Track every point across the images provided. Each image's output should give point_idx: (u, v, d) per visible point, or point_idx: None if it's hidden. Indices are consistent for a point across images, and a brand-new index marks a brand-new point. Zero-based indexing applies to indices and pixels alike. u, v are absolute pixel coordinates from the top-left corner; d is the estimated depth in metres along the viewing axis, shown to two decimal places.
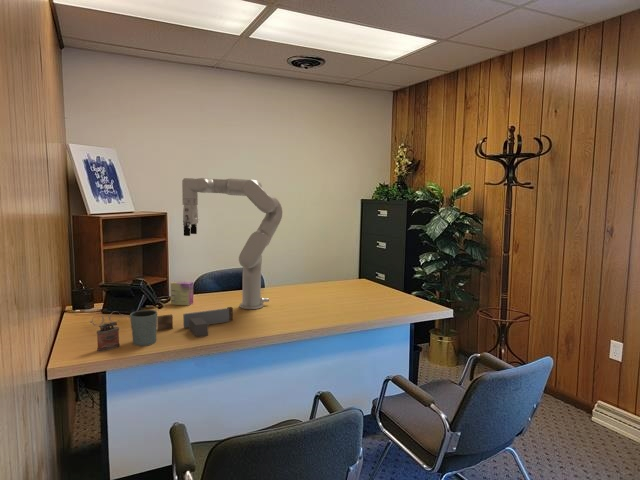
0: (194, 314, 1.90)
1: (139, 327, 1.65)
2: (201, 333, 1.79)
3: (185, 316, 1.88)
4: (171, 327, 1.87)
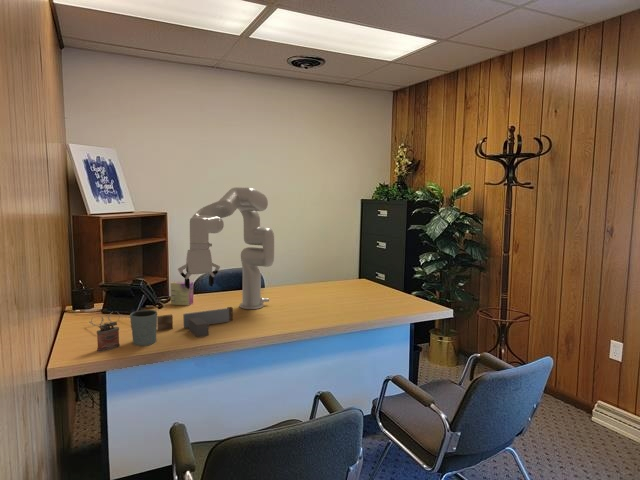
0: (194, 314, 1.90)
1: (139, 327, 1.65)
2: (202, 333, 1.79)
3: (185, 316, 1.88)
4: (171, 327, 1.87)
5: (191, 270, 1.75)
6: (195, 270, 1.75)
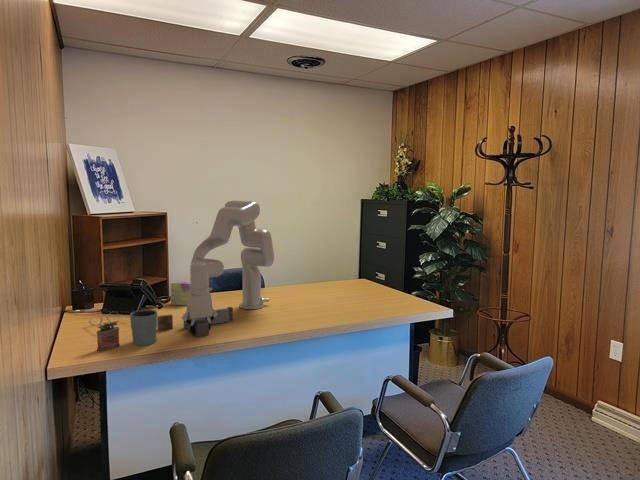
0: None
1: (139, 327, 1.65)
2: (202, 332, 1.79)
3: None
4: (171, 327, 1.87)
5: (192, 315, 1.77)
6: (196, 315, 1.77)
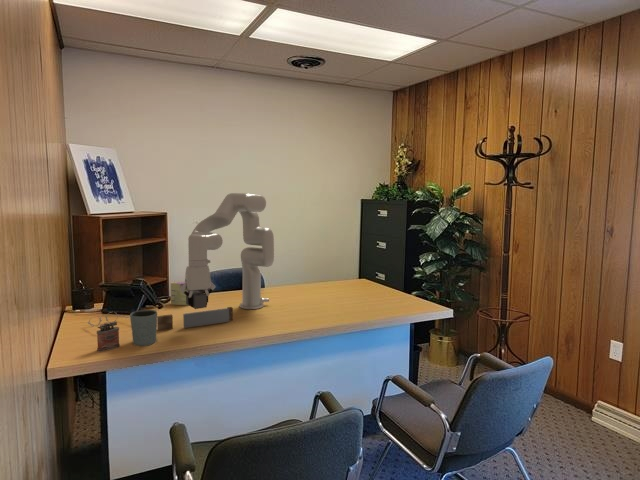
0: (194, 314, 1.90)
1: (139, 327, 1.65)
2: (200, 304, 1.80)
3: (185, 316, 1.88)
4: (171, 327, 1.87)
5: (190, 287, 1.78)
6: (194, 287, 1.78)
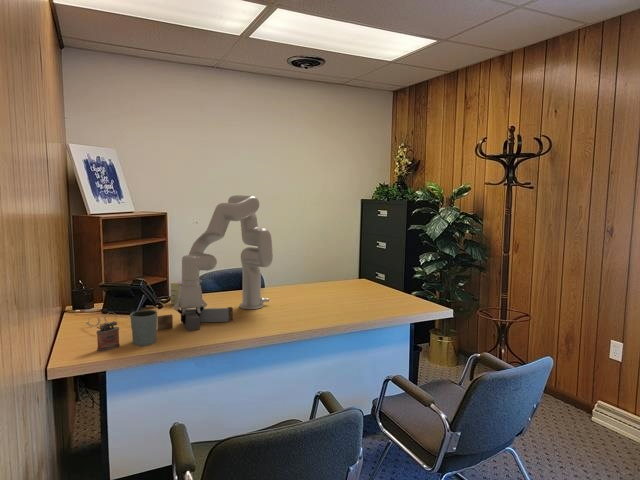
0: (192, 310, 1.95)
1: (139, 327, 1.65)
2: (193, 326, 1.86)
3: None
4: (171, 327, 1.87)
5: (183, 305, 1.88)
6: (186, 305, 1.89)
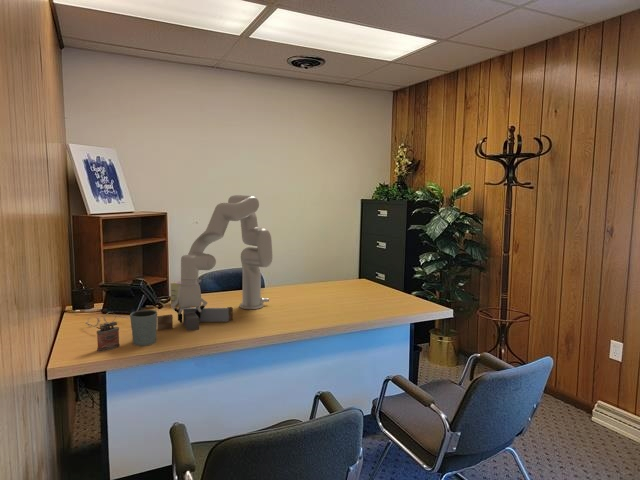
0: (193, 310, 1.97)
1: (139, 327, 1.65)
2: (192, 327, 1.86)
3: (184, 310, 1.96)
4: (171, 327, 1.87)
5: (181, 304, 1.89)
6: (185, 304, 1.89)
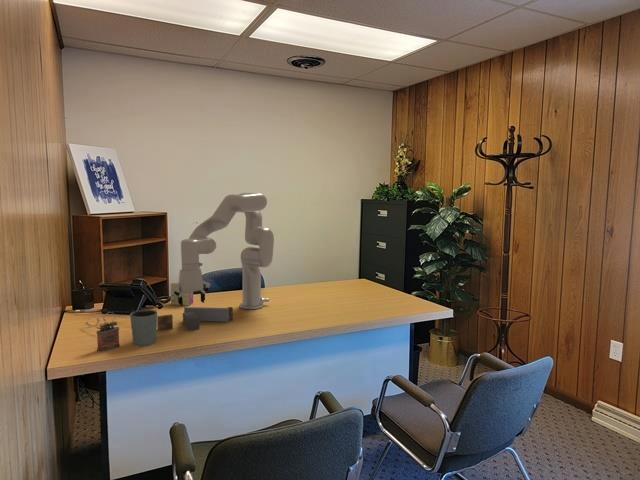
0: (193, 309, 1.98)
1: (139, 327, 1.65)
2: (193, 327, 1.86)
3: (185, 309, 1.98)
4: (171, 327, 1.87)
5: (183, 289, 1.89)
6: (187, 289, 1.90)
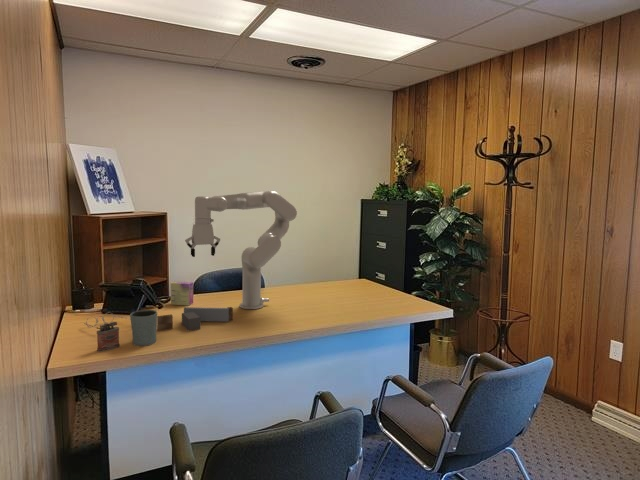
0: (193, 309, 1.97)
1: (139, 327, 1.65)
2: (194, 326, 1.87)
3: (184, 310, 1.97)
4: (171, 327, 1.87)
5: (196, 241, 2.07)
6: (199, 241, 2.08)
